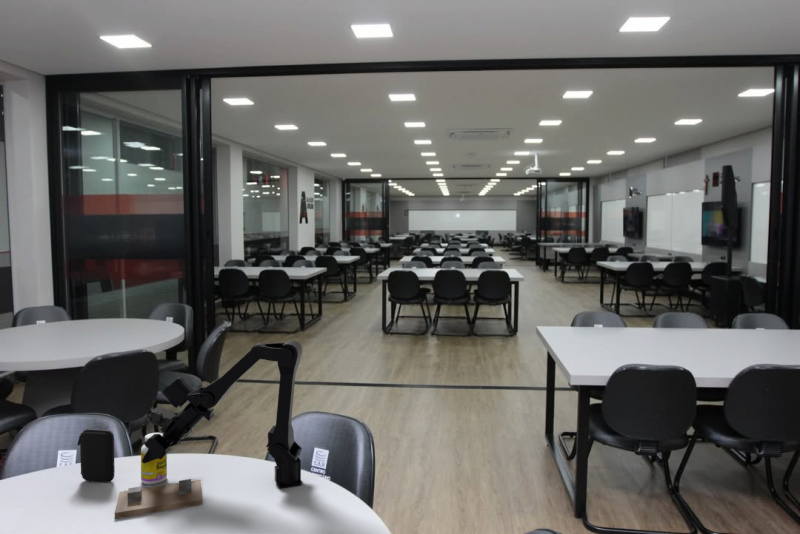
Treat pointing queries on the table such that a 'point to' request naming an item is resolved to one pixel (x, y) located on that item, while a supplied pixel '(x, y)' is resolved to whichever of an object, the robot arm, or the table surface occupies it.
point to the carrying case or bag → (97, 455)
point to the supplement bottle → (153, 466)
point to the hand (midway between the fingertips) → (149, 457)
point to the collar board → (158, 498)
